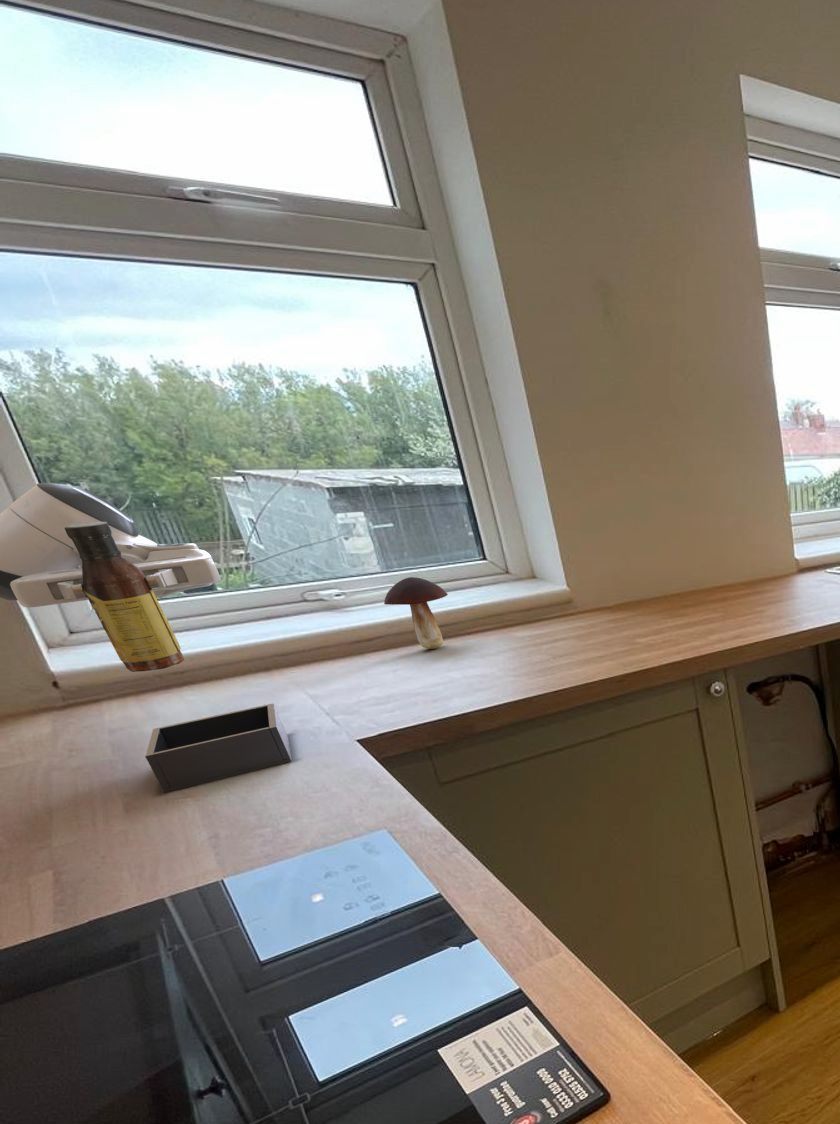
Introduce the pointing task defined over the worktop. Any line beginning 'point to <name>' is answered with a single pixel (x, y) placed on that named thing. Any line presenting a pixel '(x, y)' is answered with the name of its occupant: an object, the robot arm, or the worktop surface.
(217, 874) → the worktop surface
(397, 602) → the decorative mushroom
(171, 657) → the sauce bottle
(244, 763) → the open rectangular box
